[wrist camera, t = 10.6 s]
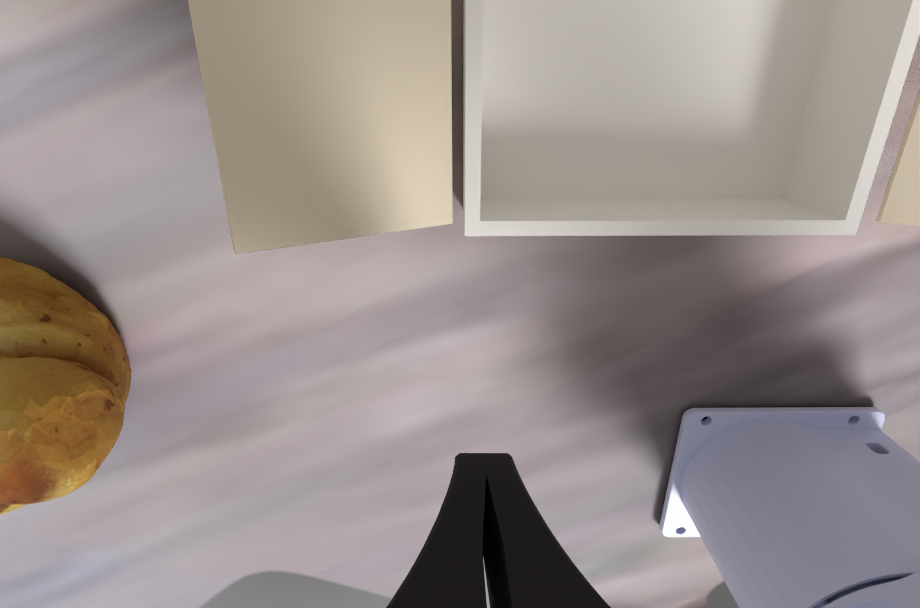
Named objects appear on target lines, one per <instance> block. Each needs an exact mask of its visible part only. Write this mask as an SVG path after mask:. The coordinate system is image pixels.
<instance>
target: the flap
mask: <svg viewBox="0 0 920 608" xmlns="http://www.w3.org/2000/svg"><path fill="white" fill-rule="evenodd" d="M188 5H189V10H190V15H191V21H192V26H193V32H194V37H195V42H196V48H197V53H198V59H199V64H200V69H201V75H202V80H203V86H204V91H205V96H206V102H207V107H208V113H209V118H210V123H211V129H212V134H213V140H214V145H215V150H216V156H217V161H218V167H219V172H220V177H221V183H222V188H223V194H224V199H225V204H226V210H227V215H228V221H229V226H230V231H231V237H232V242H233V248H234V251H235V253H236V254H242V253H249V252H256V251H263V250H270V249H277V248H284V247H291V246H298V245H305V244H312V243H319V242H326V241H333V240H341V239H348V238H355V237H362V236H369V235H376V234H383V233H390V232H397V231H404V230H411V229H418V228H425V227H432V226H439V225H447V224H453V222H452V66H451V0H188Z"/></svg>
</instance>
